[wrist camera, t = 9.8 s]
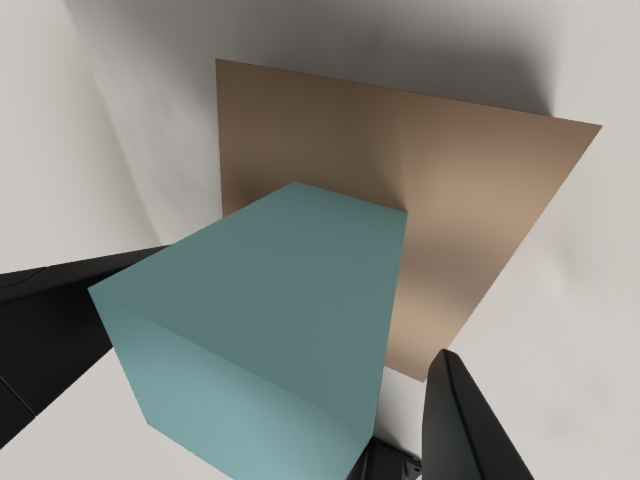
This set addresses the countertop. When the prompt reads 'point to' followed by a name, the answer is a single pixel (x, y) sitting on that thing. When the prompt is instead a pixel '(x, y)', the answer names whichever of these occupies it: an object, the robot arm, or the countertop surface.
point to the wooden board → (402, 180)
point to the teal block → (264, 333)
